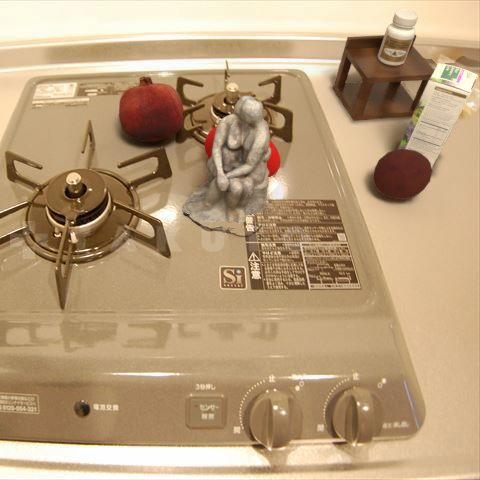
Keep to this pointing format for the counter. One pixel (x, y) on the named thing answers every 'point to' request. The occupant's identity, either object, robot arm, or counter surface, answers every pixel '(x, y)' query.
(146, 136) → the fruit
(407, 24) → the pill bottle
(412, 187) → the potato
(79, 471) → the counter surface
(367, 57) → the rack
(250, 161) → the sculpture
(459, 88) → the syrup box
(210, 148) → the heart
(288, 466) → the counter surface
